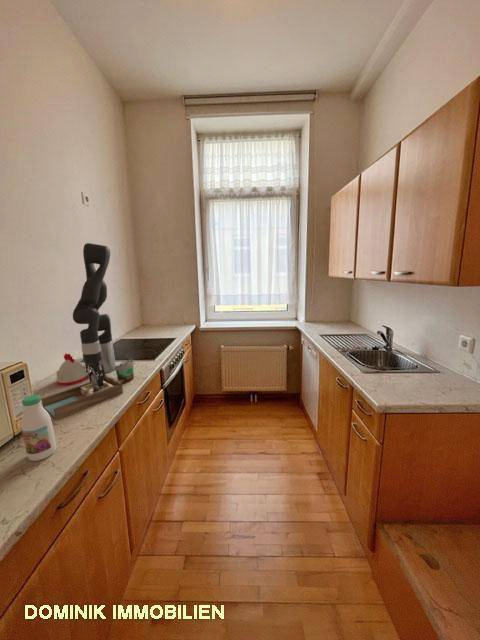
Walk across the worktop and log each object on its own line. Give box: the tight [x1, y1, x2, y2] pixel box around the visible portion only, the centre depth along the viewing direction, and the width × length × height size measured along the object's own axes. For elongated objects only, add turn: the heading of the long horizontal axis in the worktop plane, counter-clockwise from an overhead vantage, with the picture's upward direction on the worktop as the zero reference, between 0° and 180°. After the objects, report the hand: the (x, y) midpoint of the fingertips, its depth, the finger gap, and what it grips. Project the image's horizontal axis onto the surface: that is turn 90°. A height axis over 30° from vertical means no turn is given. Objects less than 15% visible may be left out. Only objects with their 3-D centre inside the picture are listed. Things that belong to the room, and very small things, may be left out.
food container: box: [114, 357, 135, 384], centre depth 142 cm, size 12×6×10 cm, turn 168°
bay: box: [41, 374, 124, 421], centre depth 122 cm, size 16×28×6 cm, turn 142°
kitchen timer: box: [56, 352, 88, 387], centre depth 144 cm, size 14×14×15 cm
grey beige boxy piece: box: [80, 374, 113, 396], centre depth 126 cm, size 12×10×9 cm
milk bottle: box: [21, 394, 57, 462], centre depth 85 cm, size 8×8×20 cm
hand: (96, 383), depth 126 cm, fingers open, 8 cm apart
